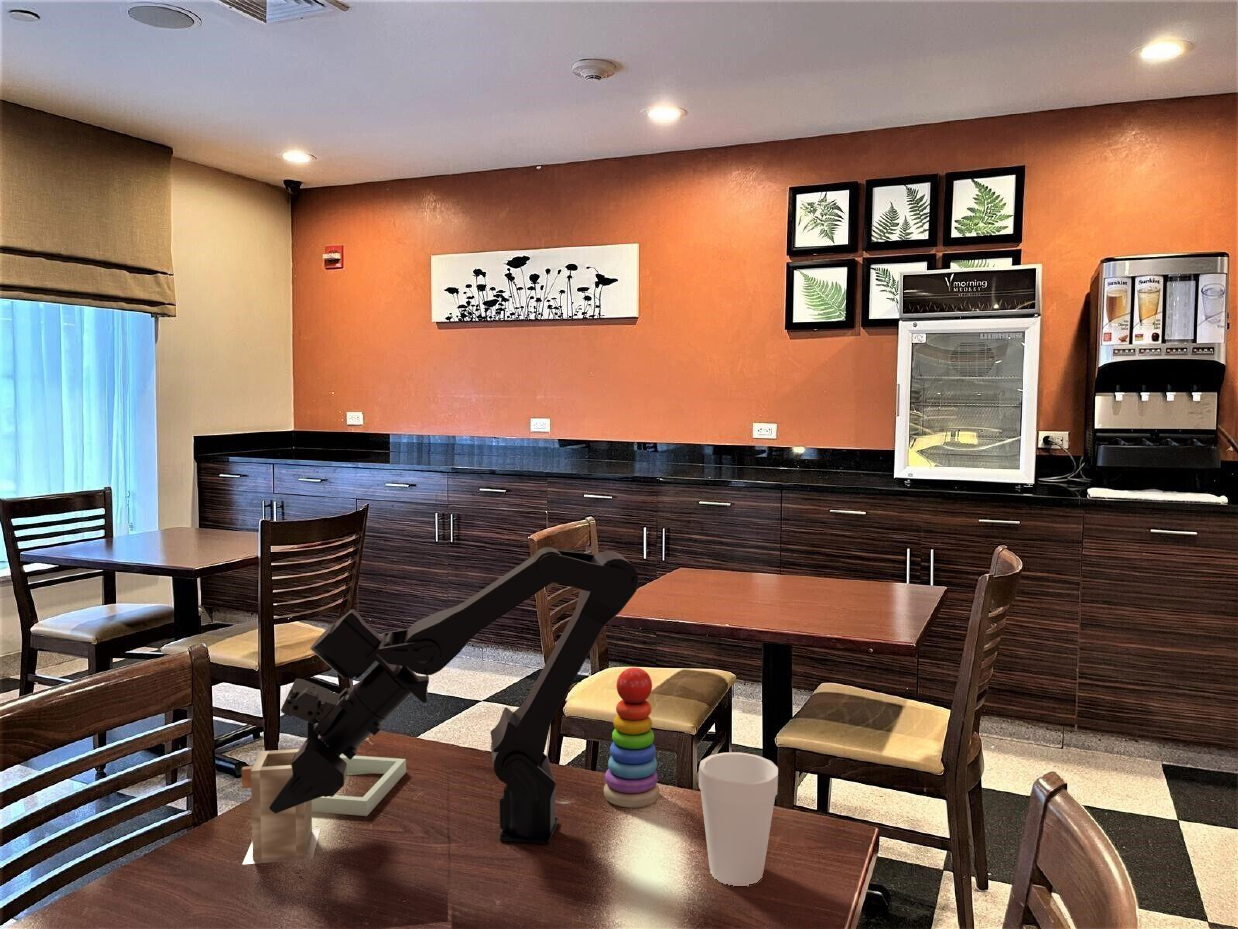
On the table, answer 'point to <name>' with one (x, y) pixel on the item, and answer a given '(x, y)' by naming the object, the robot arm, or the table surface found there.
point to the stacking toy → (632, 745)
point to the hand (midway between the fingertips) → (279, 793)
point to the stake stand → (307, 855)
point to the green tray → (367, 803)
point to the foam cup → (737, 814)
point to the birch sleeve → (271, 829)
